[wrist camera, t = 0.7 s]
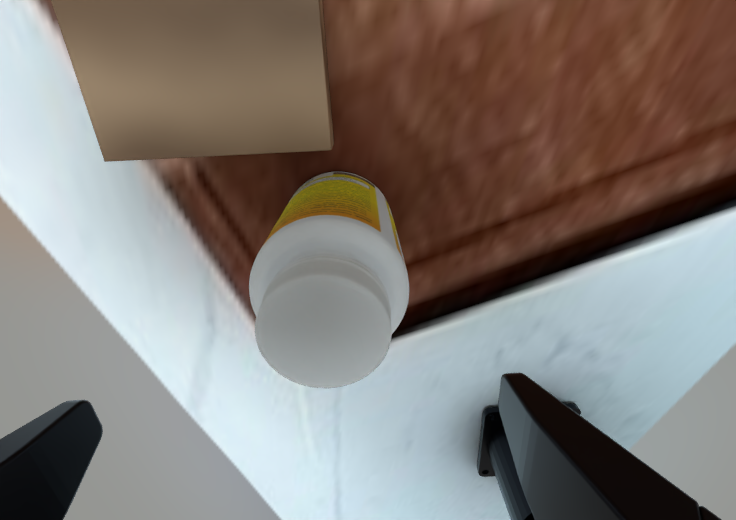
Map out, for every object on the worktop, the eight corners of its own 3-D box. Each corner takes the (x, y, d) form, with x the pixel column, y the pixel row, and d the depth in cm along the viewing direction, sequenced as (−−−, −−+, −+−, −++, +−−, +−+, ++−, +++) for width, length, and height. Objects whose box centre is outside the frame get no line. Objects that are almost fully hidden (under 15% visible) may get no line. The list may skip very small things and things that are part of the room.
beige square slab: (333, 144, 18) (331, 150, 16) (130, 154, 18) (104, 161, 16) (311, -131, 14) (304, -163, 12) (47, -117, 14) (1, -148, 12)
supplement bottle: (265, 210, 20) (181, 319, 10) (350, 146, 18) (341, 204, 9) (331, 285, 22) (309, 434, 12) (412, 232, 20) (456, 353, 11)
